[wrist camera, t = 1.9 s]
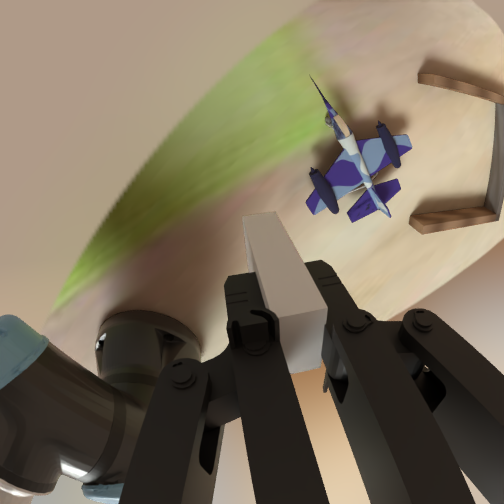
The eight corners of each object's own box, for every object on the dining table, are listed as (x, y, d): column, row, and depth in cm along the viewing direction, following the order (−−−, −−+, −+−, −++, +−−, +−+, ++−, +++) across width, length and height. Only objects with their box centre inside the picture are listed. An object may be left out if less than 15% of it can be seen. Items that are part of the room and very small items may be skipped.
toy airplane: (298, 74, 24) (311, 71, 21) (408, 119, 27) (427, 125, 24) (264, 196, 30) (272, 209, 27) (373, 220, 33) (388, 233, 30)
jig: (408, 224, 34) (421, 234, 32) (417, 73, 24) (434, 74, 22) (486, 212, 36) (498, 220, 33) (499, 96, 26) (514, 100, 23)
